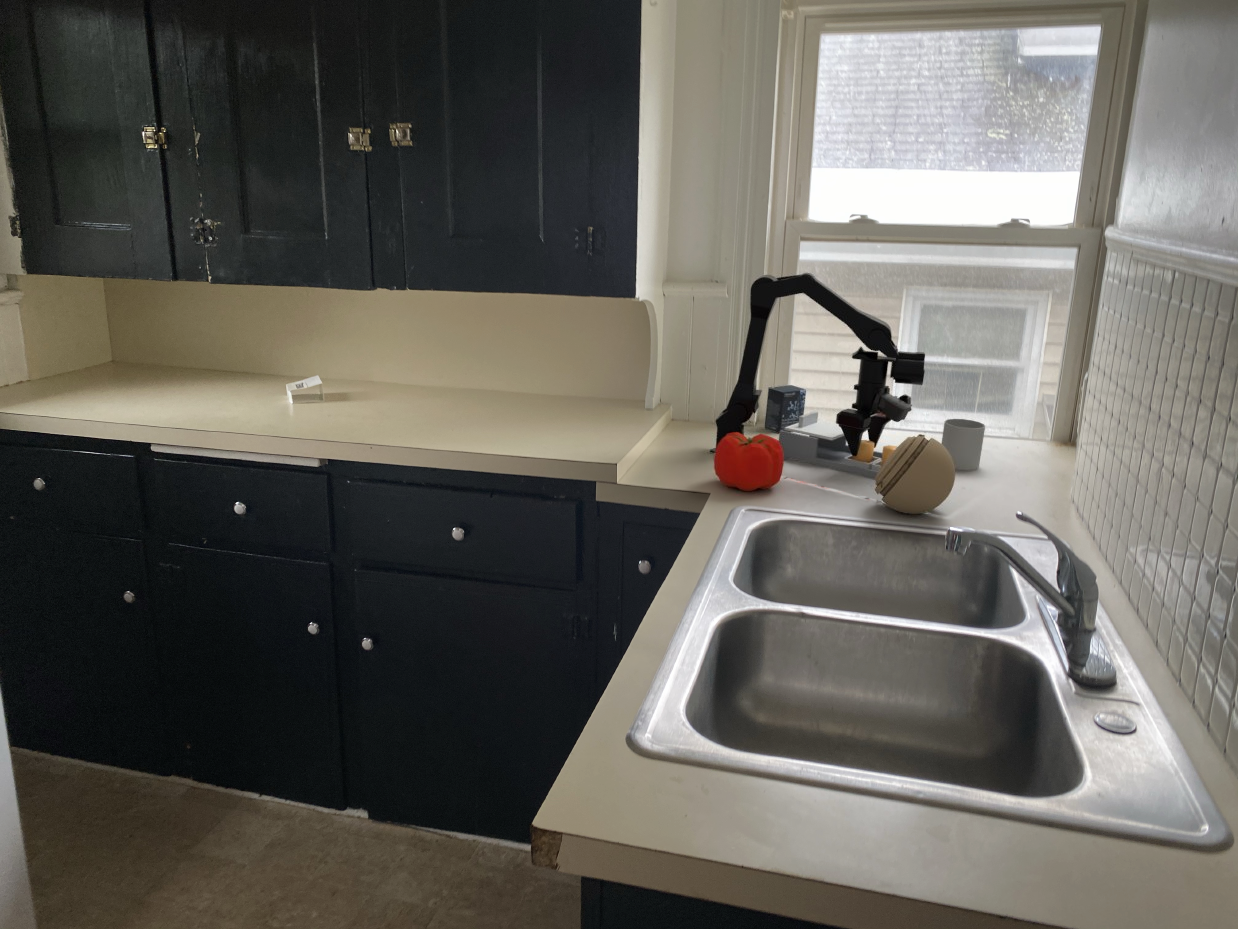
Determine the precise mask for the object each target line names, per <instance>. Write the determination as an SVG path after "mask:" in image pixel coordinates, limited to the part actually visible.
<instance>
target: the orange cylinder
mask: <svg viewBox="0 0 1238 929" xmlns="http://www.w3.org/2000/svg"><path fill="white" fill-rule="evenodd" d="M897 447H898V446H897V445H884V446H883V447H882V452H881V453H882V460H881V466H883V464H884V463H885V461H886V460H887V459H888V457H889V456H890V455H891V454H892V452H893V451H894V450H895V449H896V448H897Z"/></svg>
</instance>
